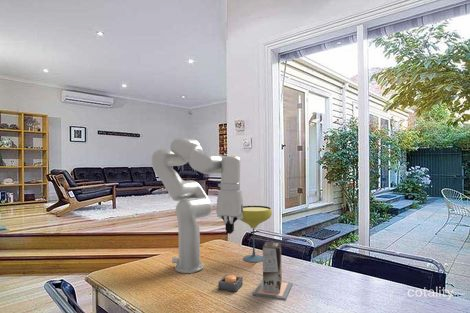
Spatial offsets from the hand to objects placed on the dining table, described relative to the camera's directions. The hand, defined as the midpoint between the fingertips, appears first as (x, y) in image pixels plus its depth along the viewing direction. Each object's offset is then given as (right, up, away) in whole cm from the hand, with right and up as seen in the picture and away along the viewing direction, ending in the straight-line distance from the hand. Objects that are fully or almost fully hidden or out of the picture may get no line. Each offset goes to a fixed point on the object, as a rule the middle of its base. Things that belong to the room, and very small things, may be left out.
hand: (229, 232), depth 119 cm
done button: (+1, -19, -4) cm, 19 cm away
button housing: (0, -20, -4) cm, 20 cm away
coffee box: (+16, -19, -7) cm, 26 cm away
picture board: (+17, -20, -7) cm, 27 cm away
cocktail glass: (+12, -20, +29) cm, 37 cm away
